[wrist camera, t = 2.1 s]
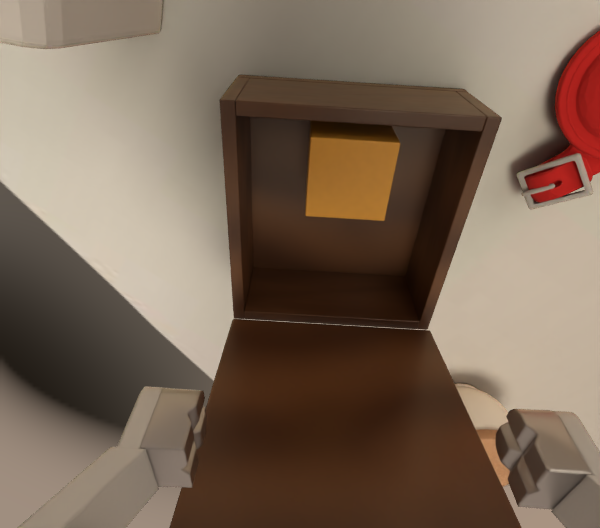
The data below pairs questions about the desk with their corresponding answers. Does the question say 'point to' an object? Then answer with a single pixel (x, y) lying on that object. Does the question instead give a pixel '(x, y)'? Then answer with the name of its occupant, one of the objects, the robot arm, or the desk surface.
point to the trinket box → (486, 423)
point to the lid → (338, 435)
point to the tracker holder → (571, 134)
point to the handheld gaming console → (76, 21)
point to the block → (350, 170)
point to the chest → (340, 231)
